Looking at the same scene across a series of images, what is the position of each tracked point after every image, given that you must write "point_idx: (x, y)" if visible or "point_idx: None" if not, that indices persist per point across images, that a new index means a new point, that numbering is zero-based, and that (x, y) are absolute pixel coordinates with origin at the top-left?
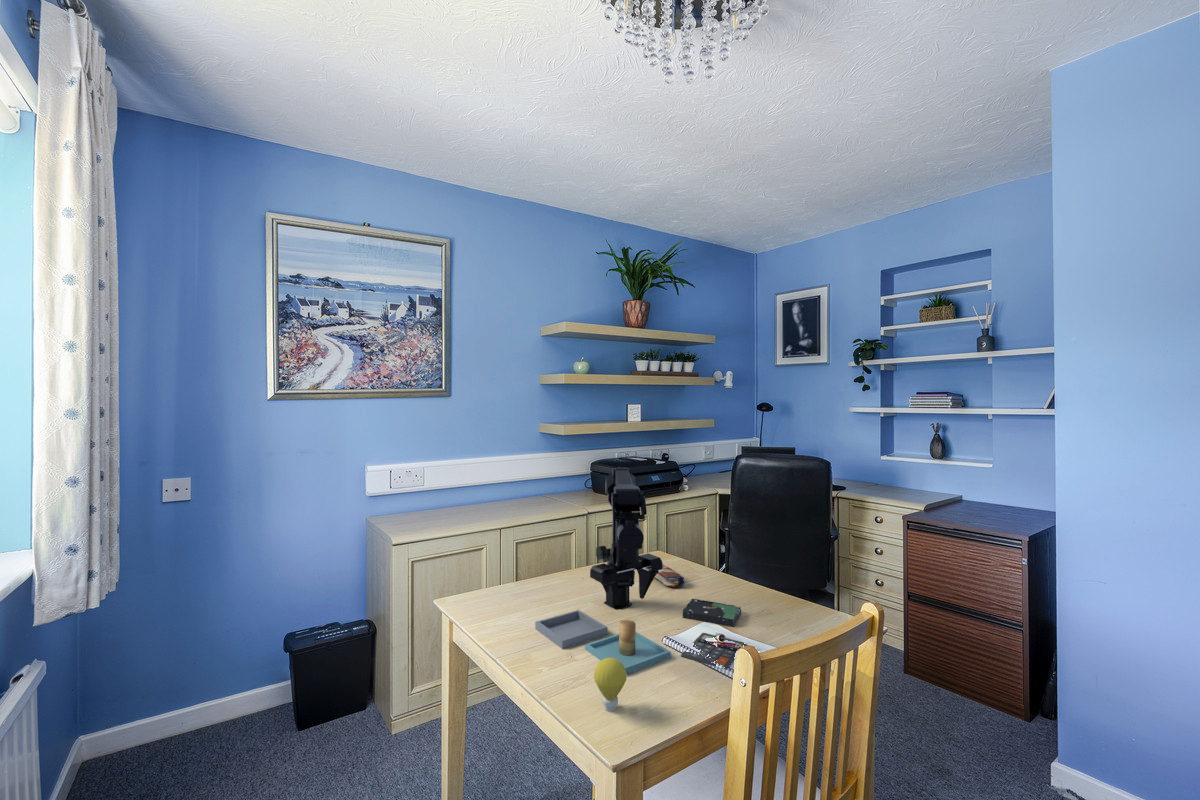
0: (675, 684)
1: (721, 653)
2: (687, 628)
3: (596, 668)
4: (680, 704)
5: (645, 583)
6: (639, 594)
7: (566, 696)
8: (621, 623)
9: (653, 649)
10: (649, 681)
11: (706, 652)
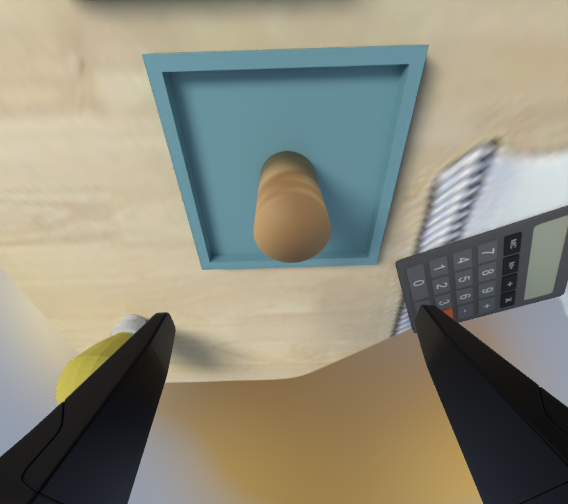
0: (291, 322)
1: (470, 300)
2: None
3: (56, 394)
4: (256, 355)
5: (478, 462)
6: (432, 319)
7: (44, 260)
8: (268, 218)
9: (366, 210)
10: (252, 297)
11: (453, 283)
